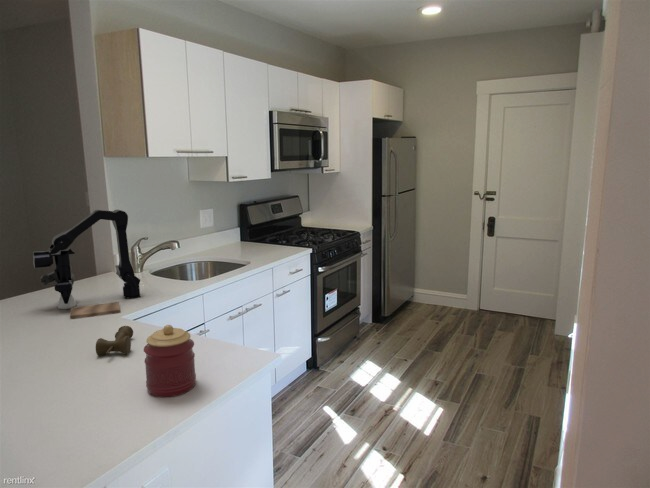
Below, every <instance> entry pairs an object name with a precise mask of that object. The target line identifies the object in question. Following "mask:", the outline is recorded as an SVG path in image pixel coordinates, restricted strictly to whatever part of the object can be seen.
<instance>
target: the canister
mask: <svg viewBox="0 0 650 488" xmlns="http://www.w3.org/2000/svg"><path fill="white" fill-rule="evenodd" d="M194 346H195V342H194V340H193V339H192V338H191V333H190V332H188V331H187V330H185V329H182V328H177V327H173V326H172V324H166V325H164V326H163V328H162V329H158V330H156V331H154V332H153V333H152V334H151V335H150V336H147V338H146V344H145V346H144V347H143V352H144V353H145V357H144V358H145V359H144V366H145V376H146V381H145V384H146V390H147V391H148V393H149V394H150V395H152V396H154V397H159V398H171V397H175V396H181V395H183V394H186V393H187V392H190V391H191V390H192V389H193V388H194V387H195V386H196V380H197V378H196V377H197V373H196V366H195V364H196V362H195V355H196V353H195V352H194V351H193V348H194Z"/></svg>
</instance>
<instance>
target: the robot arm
mask: <svg viewBox="0 0 650 488" xmlns="http://www.w3.org/2000/svg"><path fill="white" fill-rule="evenodd" d="M100 220H107V221H110V222H112V225H113V227H114V230H115V236H116V243H117V252H118V260H119V261H118V265H117V264H116V265H115V270H116V272H115V274H116V275H117V277H118V278H120V280H121V281H123V282H124V283H123V286H122V295H123V297H124V299H132V298H140V297H141V292H140V284H141V279H140V278H138V276H136V275H135V271H134V269H133V266H132V264H131V260H130V253H129V243H128V235H127V228H128V221H129V216H128V213H127V212H126V211H124V210H122V209H121V210H120V209H114V210H102V209H101V210H100V209H94V210H93V211H92V212H91V213H89V215H87V216H86V217H84V218H83V219H82V220H80V221H78V222H77V224H75V225H73V226H72V227H71V228H70V229H66V230H64V231H62V232H60V233H59V234H56V235H55V236H54V237H52V239H51V244H50V246H49V247H48V249H47V250H44V251H43V250H42V251H33V252H32V256H33V257H32V258H33V259H32V262H33V268H34V269H43V268H51V266H52V265H54V267H55V268H54V270H53V271H51V272H49V273H46V274H44V275H42V276H40V278H39V279H40V282H41V283H42V285H43V286H47V285H48V284H49V283H52V282H54V281H55V284H54V291H56V292H58V293H60V296H62V298H63V301H64V303H65V304H67V303H68V301H69V298H70V295H72V291H73V288H74V287H73V286H74V284H75V275H74V274H73V272H72V265H71V255H74V254H76V252H75V251H74V250H72V248H70V246H71V245H72V244H73V243H74V242H75V240H76V239H77V238H78V236H80V235H81V234H83V233H84V232H85V231H87V230H88V229H90V228H91V227H92V226H94V225H95V224H96V223H98V222H99V221H100Z"/></svg>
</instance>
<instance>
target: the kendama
mask: <svg viewBox="0 0 650 488" xmlns="http://www.w3.org/2000/svg"><path fill="white" fill-rule="evenodd" d="M133 335H134V330H133V328H132V327H131V326H130V325H121V326H120V327H119V328H118V330H117V332H116V333H115V334H114V338H115V340H108V339H107V340H106V339H104V338H102V337H100V338H98V339H96V343H95V353H96V355H97V356H98V357H101V356H103V355H109V354H110V352H118V353H121V354H124V355H125V356H127V355H129V354H130V353H131V350H132V349H131V348H132V342H131V341H132V340H131V339H132V338H133Z"/></svg>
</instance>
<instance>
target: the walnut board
mask: <svg viewBox="0 0 650 488" xmlns="http://www.w3.org/2000/svg"><path fill="white" fill-rule="evenodd" d="M120 313H121V305H120V301H115V302H108V303H100V304H98V303H97V304H91V305H83V306H75V307H72V308H70V314H69V319H70V320H74V319H81V318H82V319H83V318H89V317H97V316H104V315H112V314H120Z"/></svg>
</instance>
